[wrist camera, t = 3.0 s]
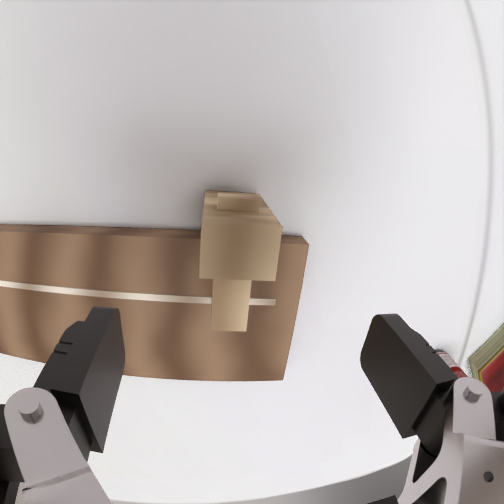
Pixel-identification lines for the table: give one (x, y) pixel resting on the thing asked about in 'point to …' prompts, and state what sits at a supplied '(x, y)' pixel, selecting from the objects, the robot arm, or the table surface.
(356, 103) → the table surface
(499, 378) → the hardcover book
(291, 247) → the walnut board
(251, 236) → the marking gauge
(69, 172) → the table surface
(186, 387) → the table surface
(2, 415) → the robot arm
